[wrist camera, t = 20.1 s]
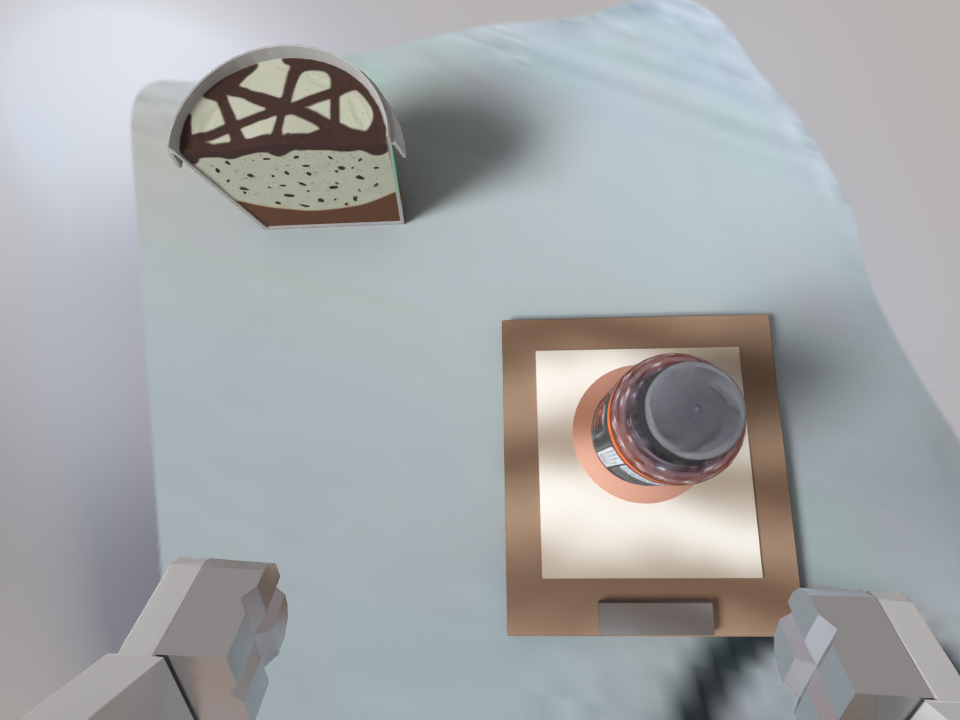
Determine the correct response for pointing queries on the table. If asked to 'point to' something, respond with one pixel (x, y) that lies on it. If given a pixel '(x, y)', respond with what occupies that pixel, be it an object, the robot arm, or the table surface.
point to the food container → (293, 139)
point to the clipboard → (639, 490)
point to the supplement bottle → (670, 422)
